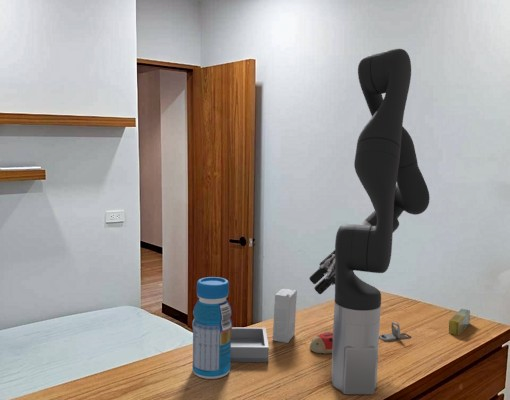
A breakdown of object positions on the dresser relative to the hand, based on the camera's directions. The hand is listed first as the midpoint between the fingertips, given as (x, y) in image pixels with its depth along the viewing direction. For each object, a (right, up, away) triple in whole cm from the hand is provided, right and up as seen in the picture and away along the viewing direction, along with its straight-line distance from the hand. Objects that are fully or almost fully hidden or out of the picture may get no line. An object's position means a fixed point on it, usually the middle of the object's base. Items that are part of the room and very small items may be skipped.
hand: (314, 286), depth 124 cm
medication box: (+41, -14, +11) cm, 45 cm away
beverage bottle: (-24, -15, -18) cm, 34 cm away
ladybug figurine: (+3, -15, -4) cm, 16 cm away
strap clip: (+21, -14, +4) cm, 26 cm away
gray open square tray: (-18, -14, -7) cm, 24 cm away
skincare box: (-8, -14, +1) cm, 16 cm away
